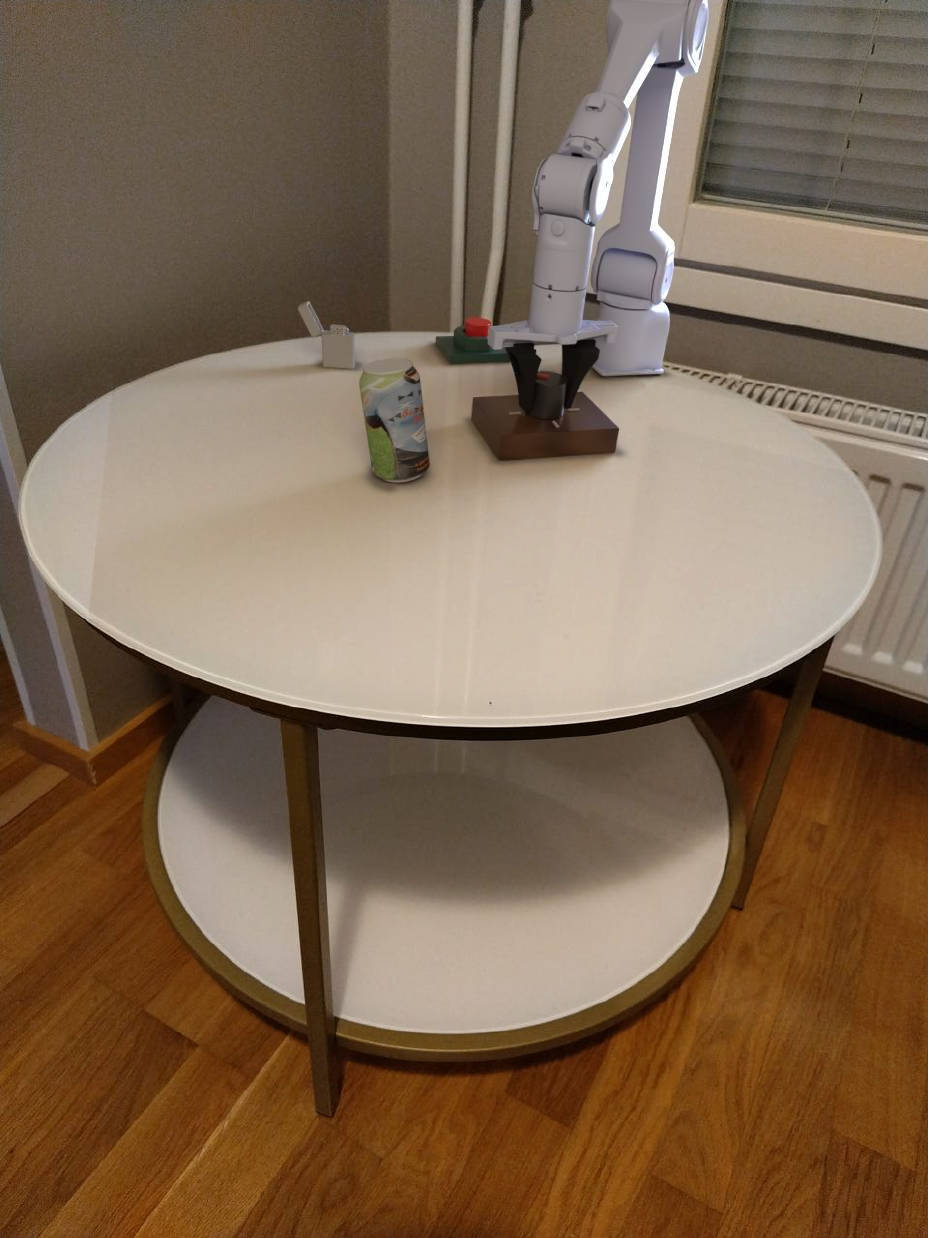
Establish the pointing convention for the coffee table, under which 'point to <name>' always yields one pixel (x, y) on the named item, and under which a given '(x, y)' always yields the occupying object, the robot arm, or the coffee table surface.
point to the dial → (549, 395)
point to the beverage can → (394, 419)
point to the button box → (468, 348)
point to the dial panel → (542, 429)
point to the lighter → (331, 340)
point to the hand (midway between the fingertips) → (544, 406)
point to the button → (477, 327)
